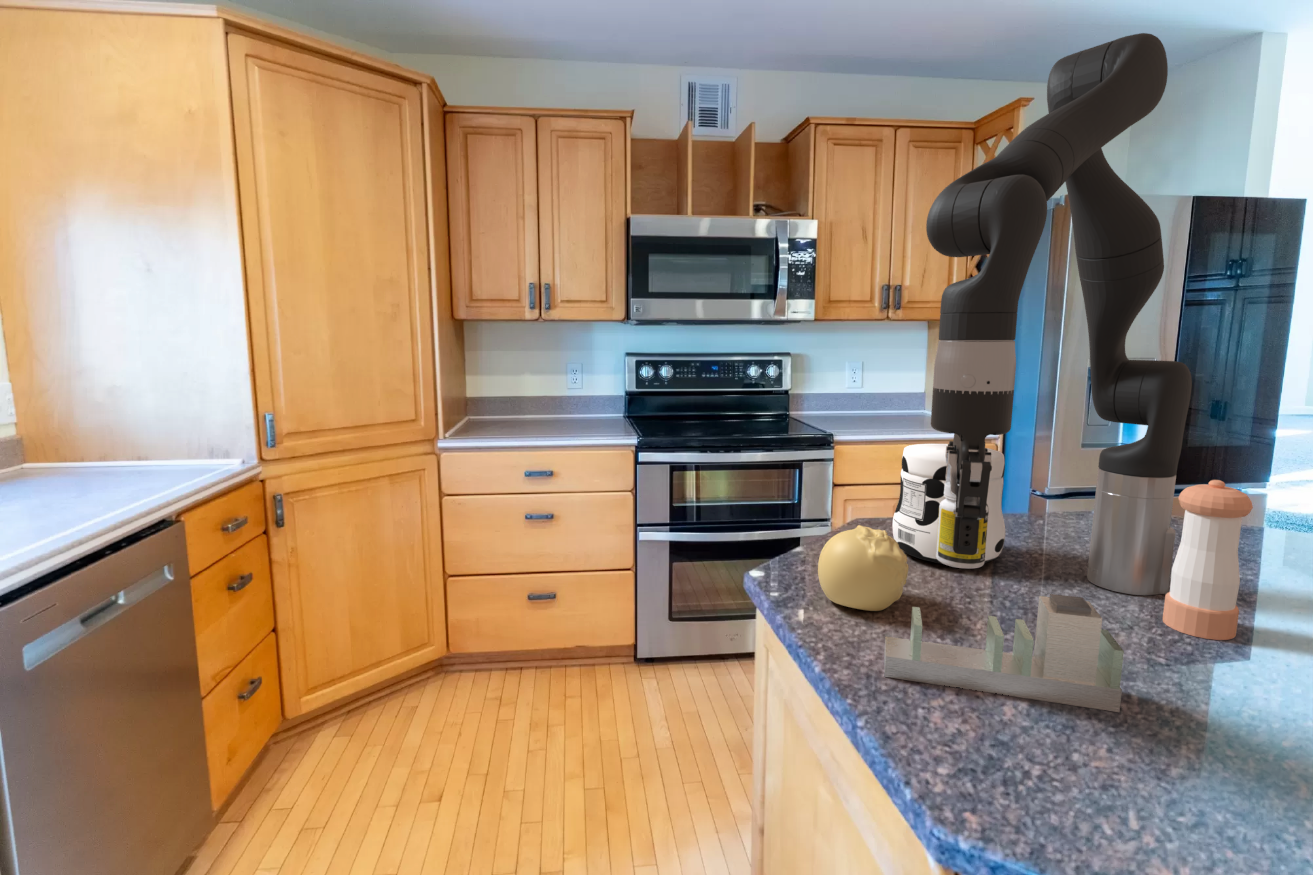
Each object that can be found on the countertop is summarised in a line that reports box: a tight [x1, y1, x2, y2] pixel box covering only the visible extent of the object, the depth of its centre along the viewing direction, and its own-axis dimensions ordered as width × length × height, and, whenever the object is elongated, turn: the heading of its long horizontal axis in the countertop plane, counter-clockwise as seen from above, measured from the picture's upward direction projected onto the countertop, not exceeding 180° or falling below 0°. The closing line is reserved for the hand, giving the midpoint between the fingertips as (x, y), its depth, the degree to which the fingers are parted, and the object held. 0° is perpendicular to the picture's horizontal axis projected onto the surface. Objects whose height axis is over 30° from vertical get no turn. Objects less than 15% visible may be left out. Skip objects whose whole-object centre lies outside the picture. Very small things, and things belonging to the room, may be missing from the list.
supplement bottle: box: [936, 482, 988, 569], centre depth 70 cm, size 5×5×8 cm
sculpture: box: [817, 524, 910, 612], centre depth 92 cm, size 12×12×11 cm
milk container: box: [892, 443, 1006, 565], centre depth 110 cm, size 17×17×18 cm
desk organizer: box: [883, 593, 1125, 713], centre depth 70 cm, size 22×5×10 cm, turn 72°
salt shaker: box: [1162, 479, 1254, 641], centre depth 83 cm, size 7×7×19 cm
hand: (961, 544), depth 70 cm, fingers closed on supplement bottle, 4 cm apart
